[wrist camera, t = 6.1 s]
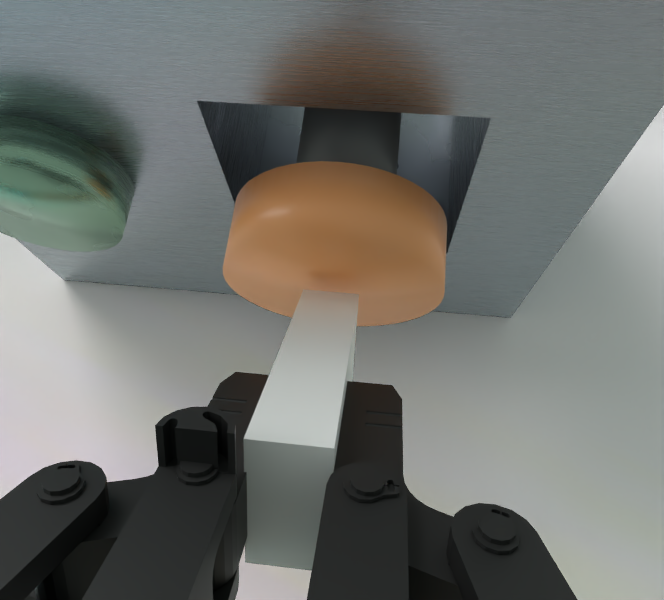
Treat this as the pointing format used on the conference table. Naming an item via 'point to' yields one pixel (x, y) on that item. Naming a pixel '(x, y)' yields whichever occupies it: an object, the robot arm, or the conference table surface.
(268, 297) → the disc
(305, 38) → the box
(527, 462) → the conference table surface
